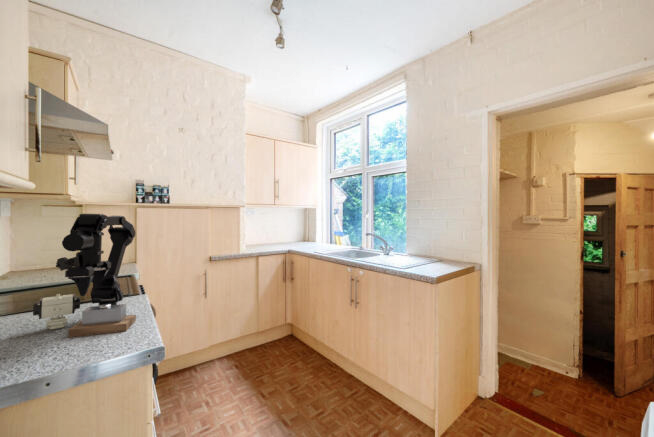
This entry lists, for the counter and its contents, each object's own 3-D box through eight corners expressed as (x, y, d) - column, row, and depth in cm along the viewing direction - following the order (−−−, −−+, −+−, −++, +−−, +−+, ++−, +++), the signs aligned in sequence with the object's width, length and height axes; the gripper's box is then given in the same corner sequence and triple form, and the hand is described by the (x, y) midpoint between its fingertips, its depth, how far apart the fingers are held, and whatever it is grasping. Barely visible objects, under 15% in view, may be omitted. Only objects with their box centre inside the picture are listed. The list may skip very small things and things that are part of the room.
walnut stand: (83, 326, 97) (83, 319, 97) (135, 321, 102) (135, 314, 103) (68, 337, 88) (68, 329, 88) (126, 330, 93) (126, 323, 93)
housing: (125, 317, 99) (126, 301, 100) (120, 322, 95) (121, 305, 95) (89, 320, 96) (89, 304, 96) (81, 325, 91) (82, 308, 91)
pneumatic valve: (33, 330, 93) (34, 295, 93) (79, 321, 101) (80, 290, 101) (31, 335, 89) (33, 299, 89) (79, 325, 97) (80, 293, 97)
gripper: (76, 246, 101) (75, 288, 100) (44, 251, 83) (42, 301, 83) (112, 246, 105) (111, 286, 104) (88, 250, 87) (87, 298, 87)
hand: (89, 292), depth 94 cm, fingers open, 9 cm apart
